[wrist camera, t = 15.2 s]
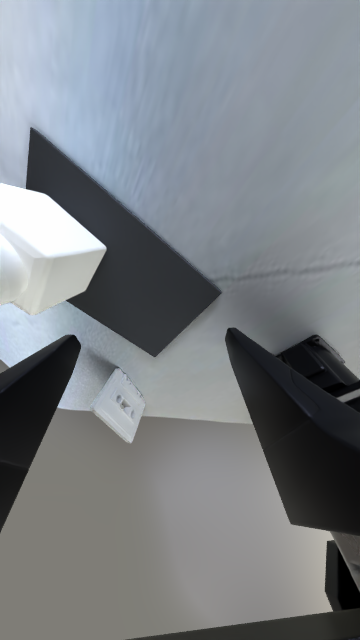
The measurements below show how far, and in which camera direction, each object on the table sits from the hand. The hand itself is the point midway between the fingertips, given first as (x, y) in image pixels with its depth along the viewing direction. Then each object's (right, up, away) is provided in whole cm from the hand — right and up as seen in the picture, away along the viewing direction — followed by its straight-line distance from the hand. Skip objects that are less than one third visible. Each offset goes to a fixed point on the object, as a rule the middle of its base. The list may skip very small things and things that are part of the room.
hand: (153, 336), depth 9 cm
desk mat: (-7, +6, +10) cm, 13 cm away
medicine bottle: (-11, +9, +8) cm, 17 cm away
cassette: (-9, -13, +22) cm, 27 cm away
